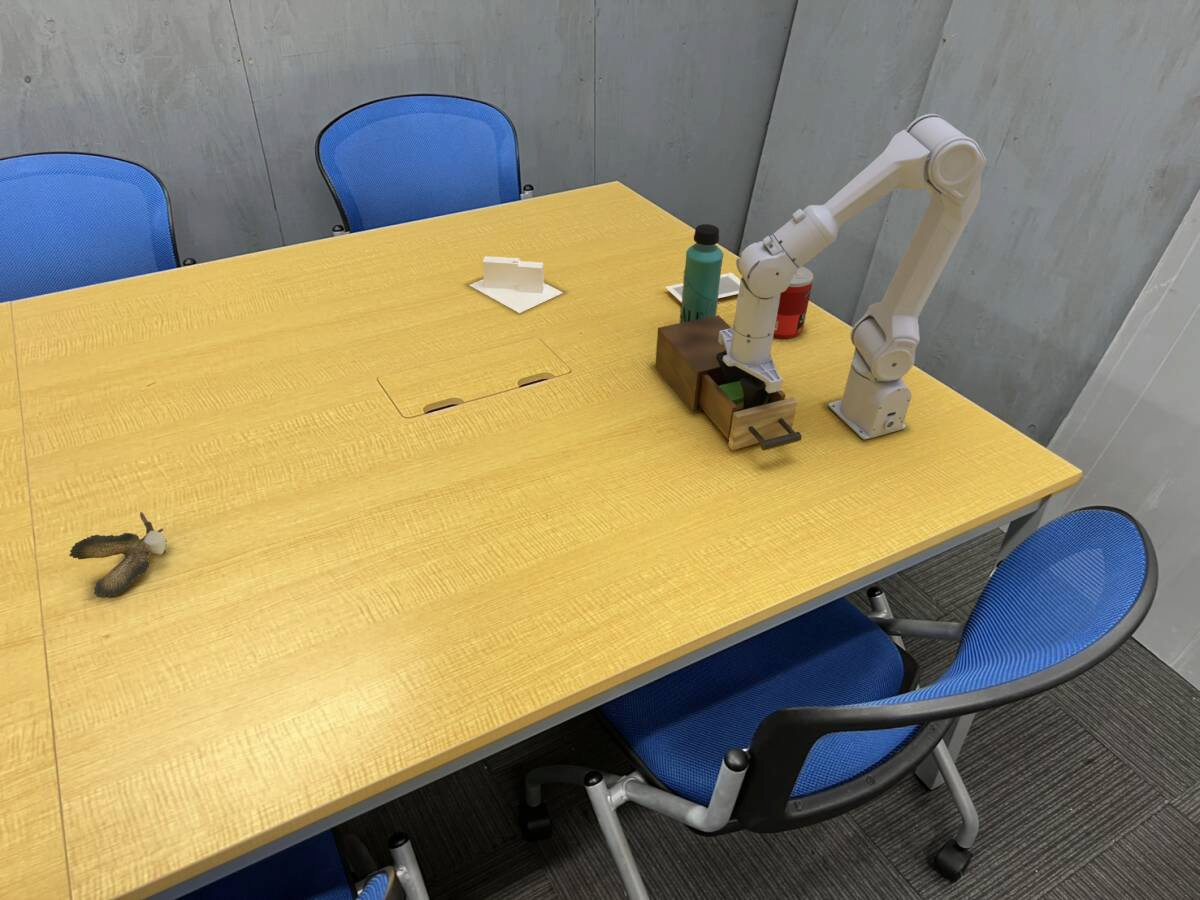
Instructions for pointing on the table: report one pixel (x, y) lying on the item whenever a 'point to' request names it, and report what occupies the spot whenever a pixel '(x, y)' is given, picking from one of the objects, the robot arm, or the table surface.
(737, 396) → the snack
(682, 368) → the cabinet
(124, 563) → the eagle figurine
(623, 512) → the table surface
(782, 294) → the canned food
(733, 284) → the touchpad
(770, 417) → the drawer
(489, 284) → the napkin holder
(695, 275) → the beverage bottle
